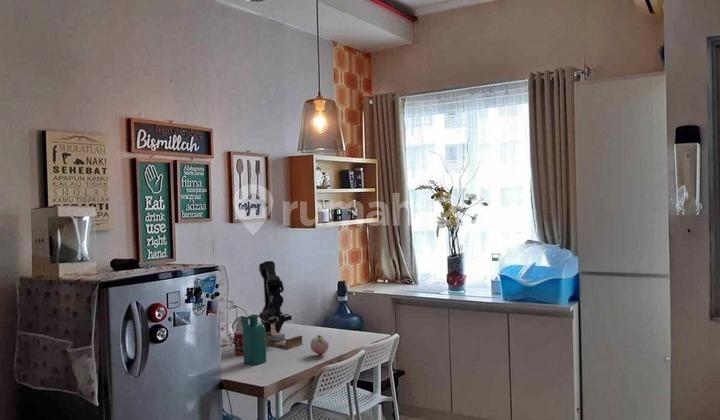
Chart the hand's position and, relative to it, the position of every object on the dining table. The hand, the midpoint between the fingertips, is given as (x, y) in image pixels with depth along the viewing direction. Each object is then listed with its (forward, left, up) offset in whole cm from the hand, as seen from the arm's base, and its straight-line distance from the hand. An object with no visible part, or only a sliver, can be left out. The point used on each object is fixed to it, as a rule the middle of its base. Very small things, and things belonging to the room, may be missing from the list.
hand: (275, 332), depth 309 cm
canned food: (+1, -23, -6) cm, 24 cm away
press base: (+3, 0, -6) cm, 6 cm away
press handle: (0, 0, -4) cm, 4 cm away
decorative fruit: (+36, -6, -6) cm, 37 cm away
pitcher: (+18, -31, -6) cm, 36 cm away
